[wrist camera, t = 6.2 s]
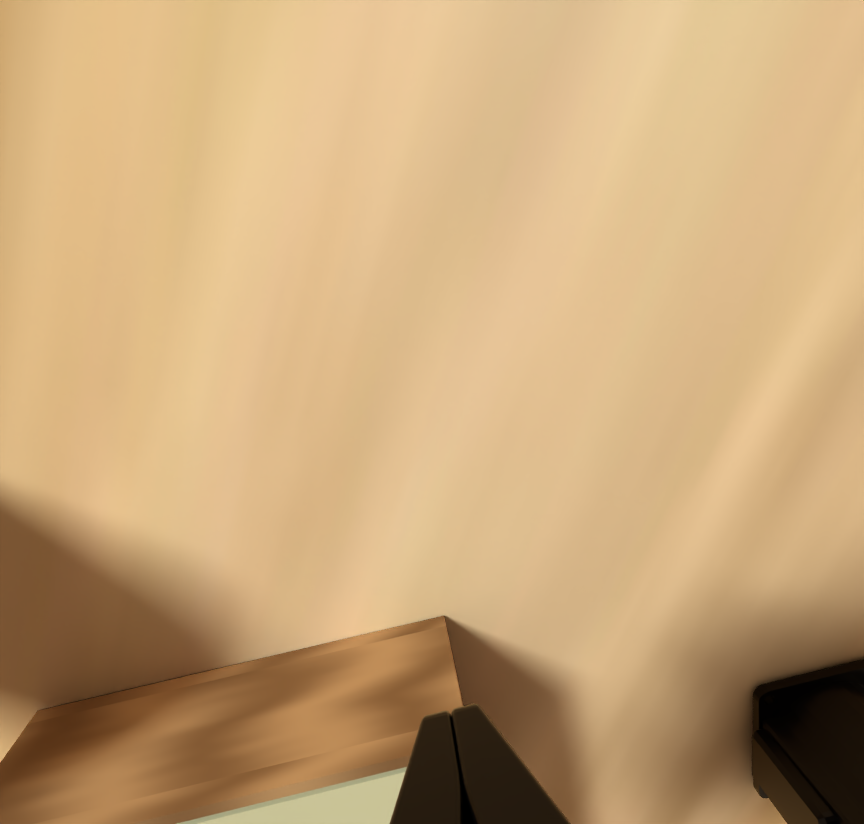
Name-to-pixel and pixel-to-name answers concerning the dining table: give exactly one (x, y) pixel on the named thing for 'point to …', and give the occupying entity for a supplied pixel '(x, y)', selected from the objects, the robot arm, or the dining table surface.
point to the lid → (323, 804)
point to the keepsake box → (232, 733)
